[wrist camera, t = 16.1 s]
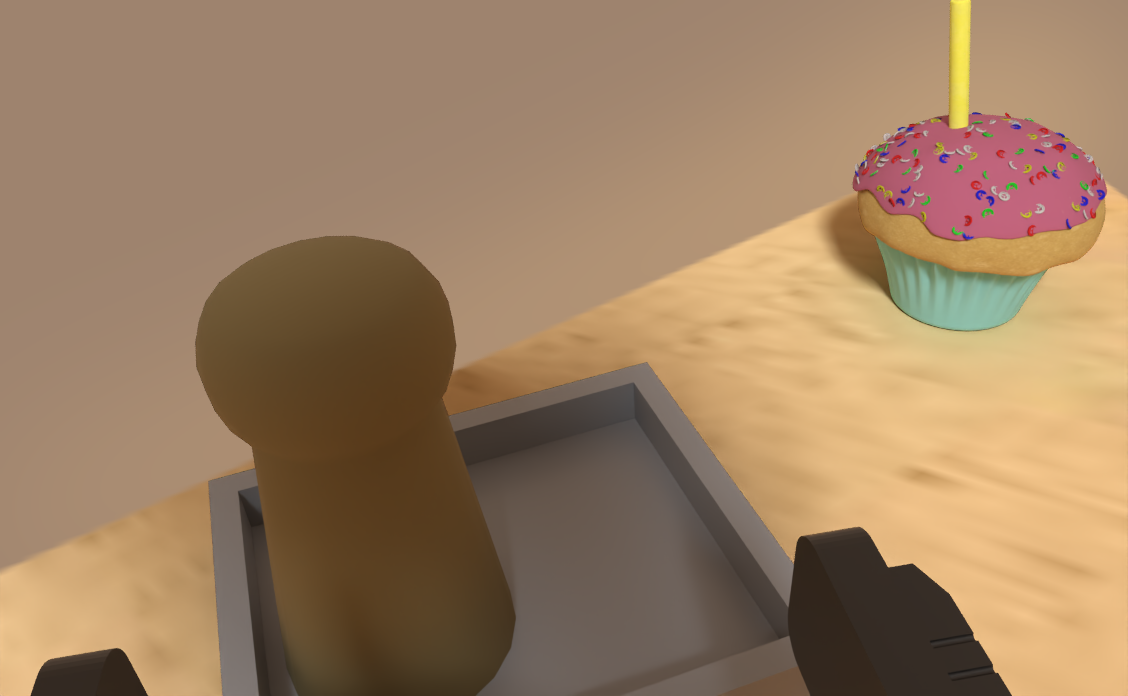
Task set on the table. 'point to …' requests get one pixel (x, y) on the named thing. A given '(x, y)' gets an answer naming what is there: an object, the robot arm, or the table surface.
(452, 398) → the table surface
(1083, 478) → the table surface
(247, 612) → the gray tray
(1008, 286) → the cupcake
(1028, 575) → the table surface
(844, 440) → the table surface
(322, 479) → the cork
